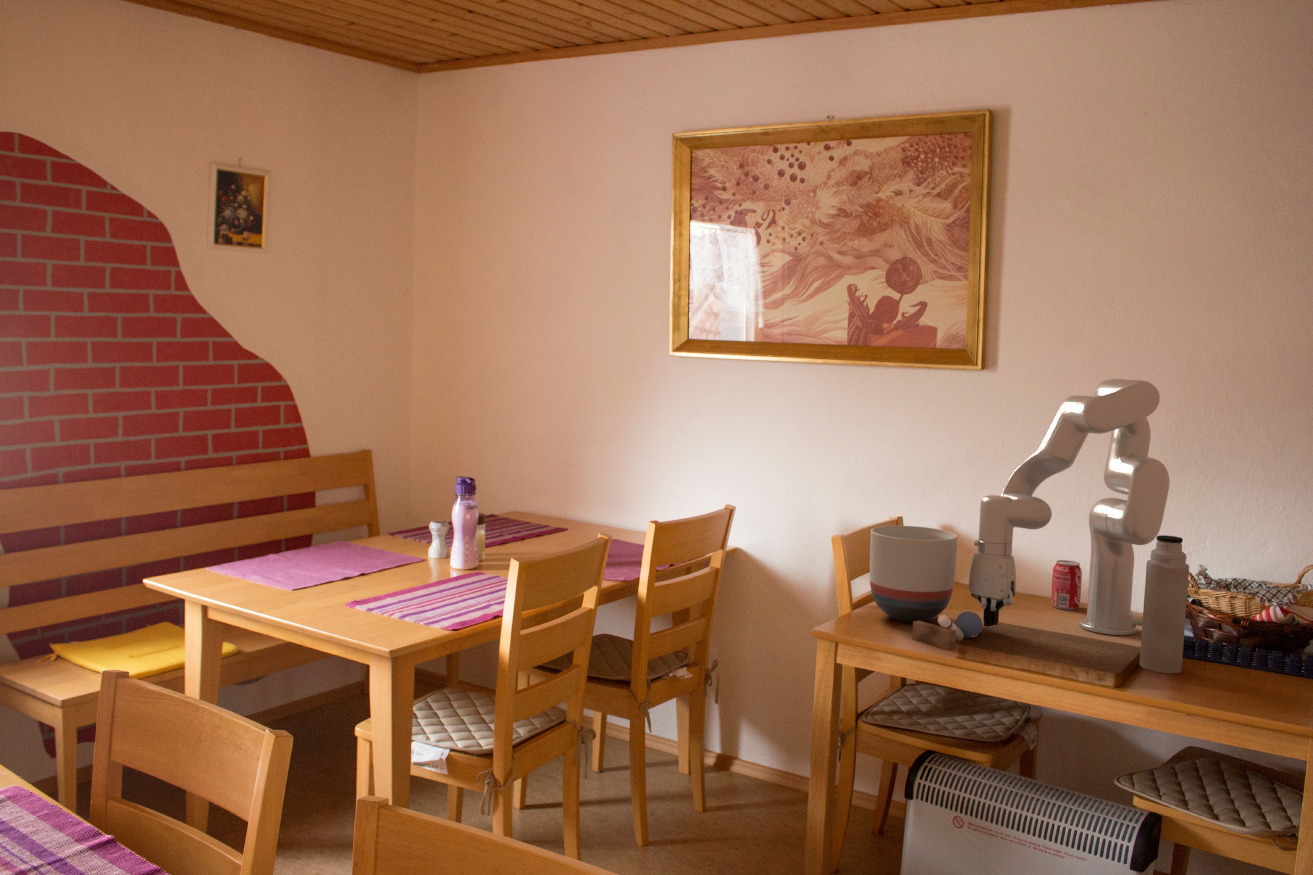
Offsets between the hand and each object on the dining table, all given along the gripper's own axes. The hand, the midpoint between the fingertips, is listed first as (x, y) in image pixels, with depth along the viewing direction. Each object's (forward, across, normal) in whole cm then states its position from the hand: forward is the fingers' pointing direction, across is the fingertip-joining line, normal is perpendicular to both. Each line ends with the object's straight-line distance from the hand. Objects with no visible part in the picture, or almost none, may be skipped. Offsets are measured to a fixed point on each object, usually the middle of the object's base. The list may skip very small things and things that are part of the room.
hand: (990, 625), depth 240 cm
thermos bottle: (+2, +37, +7) cm, 37 cm away
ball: (-2, 0, -9) cm, 9 cm away
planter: (+2, -18, -7) cm, 19 cm away
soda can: (+2, -3, +39) cm, 39 cm away
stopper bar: (+2, -1, -20) cm, 20 cm away
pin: (0, 0, -12) cm, 12 cm away
